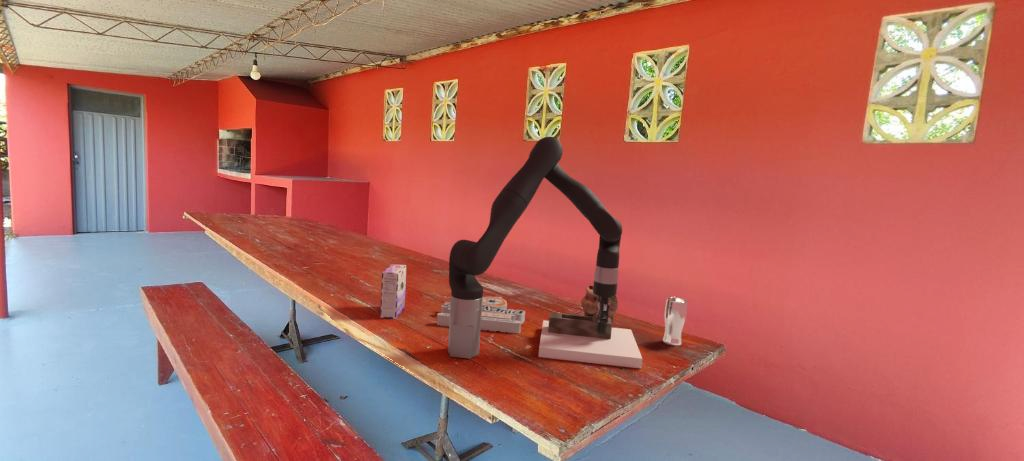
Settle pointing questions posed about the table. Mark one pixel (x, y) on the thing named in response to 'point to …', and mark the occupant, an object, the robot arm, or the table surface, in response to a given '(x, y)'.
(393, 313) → the candy box
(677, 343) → the beer glass
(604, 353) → the wall plate
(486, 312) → the sign
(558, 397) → the table surface
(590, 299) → the decorative planter
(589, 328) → the frame
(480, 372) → the table surface
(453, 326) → the robot arm
